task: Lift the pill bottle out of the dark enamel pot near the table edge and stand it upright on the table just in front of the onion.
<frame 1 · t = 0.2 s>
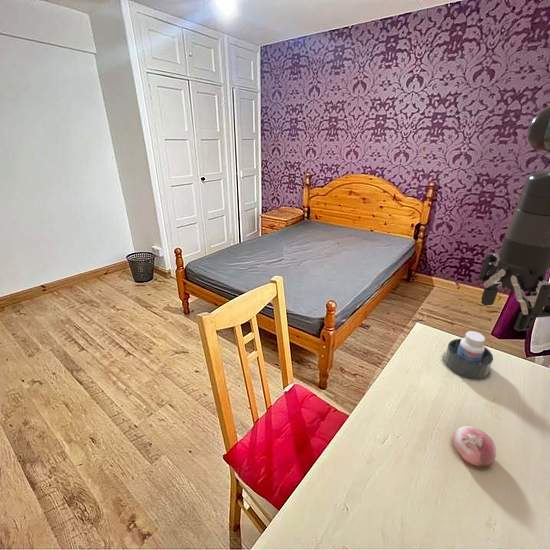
hand: (502, 316, 59), 32 cm above the table, tool pointing down, fingers open, 8 cm apart
pill bottle: (464, 366, 91), resting on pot
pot: (464, 366, 91), on the table
onion: (469, 454, 68), on the table
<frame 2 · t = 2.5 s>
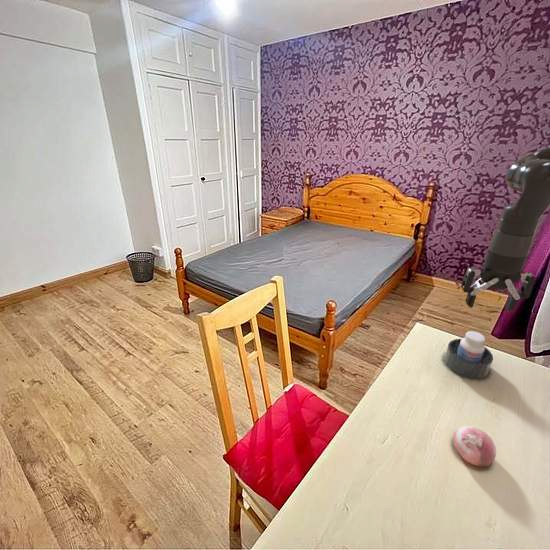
hand: (488, 307, 78), 23 cm above the table, tool pointing down, fingers open, 8 cm apart
nothing on the table moved.
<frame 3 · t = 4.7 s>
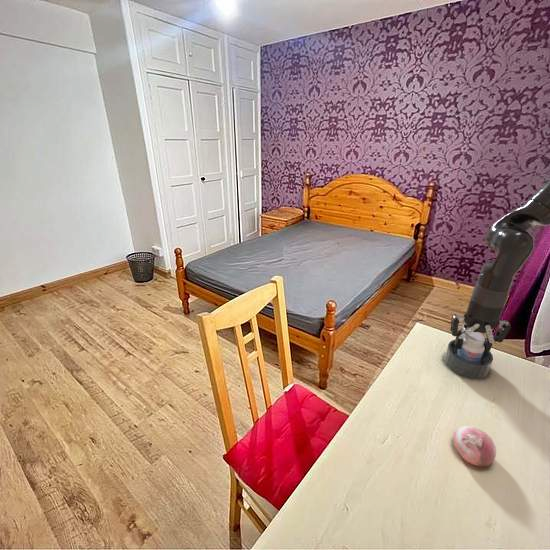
hand: (470, 348, 88), 7 cm above the table, tool pointing down, fingers closed on pill bottle, 6 cm apart
pill bottle: (464, 366, 91), resting on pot, touching gripper
everything else where it was.
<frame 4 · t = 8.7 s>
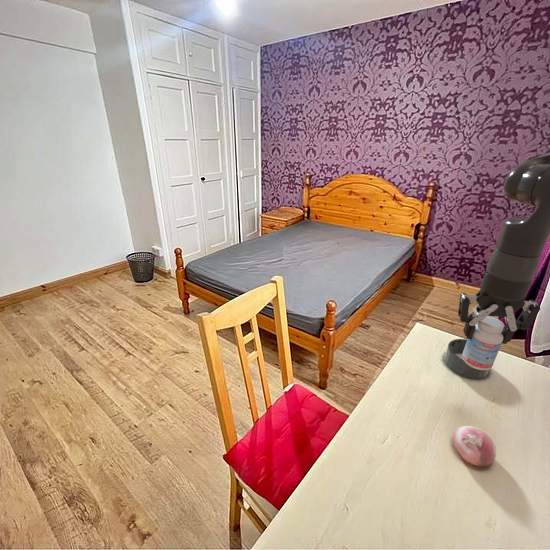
hand: (484, 338, 67), 23 cm above the table, tool pointing down, fingers closed on pill bottle, 6 cm apart
pill bottle: (476, 362, 70), point 16 cm above the table, touching gripper
everything else where it was.
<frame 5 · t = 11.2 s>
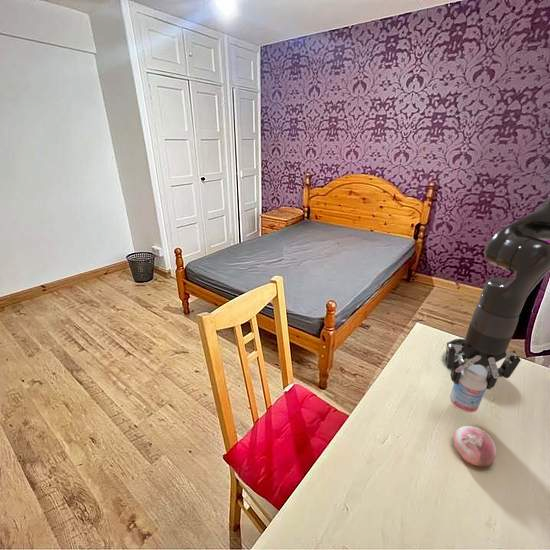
hand: (470, 383, 72), 11 cm above the table, tool pointing down, fingers closed on pill bottle, 6 cm apart
pill bottle: (463, 403, 75), point 4 cm above the table, touching gripper
everything else where it was.
when the fingers open (7 cm above the table, at t = 12.8 s): pill bottle stays where it is, on the table.
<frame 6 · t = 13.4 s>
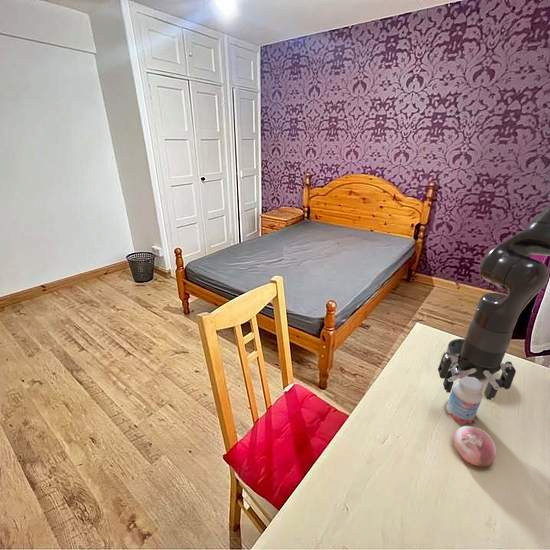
hand: (466, 393, 73), 8 cm above the table, tool pointing down, fingers open, 8 cm apart
pill bottle: (458, 415, 77), on the table
everything else where it was.
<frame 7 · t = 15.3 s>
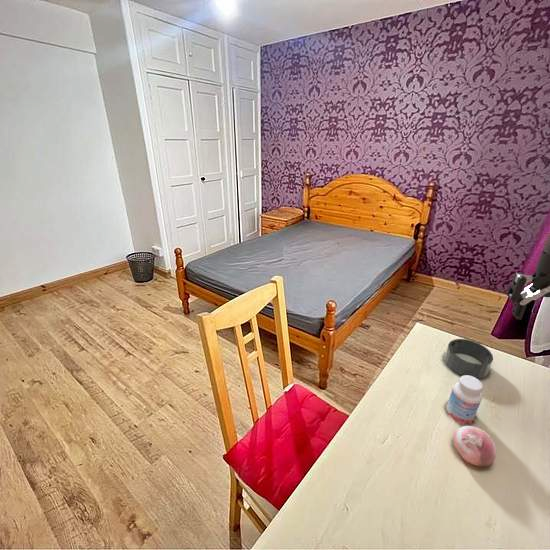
hand: (539, 319, 66), 27 cm above the table, tool pointing down, fingers open, 8 cm apart
nothing on the table moved.
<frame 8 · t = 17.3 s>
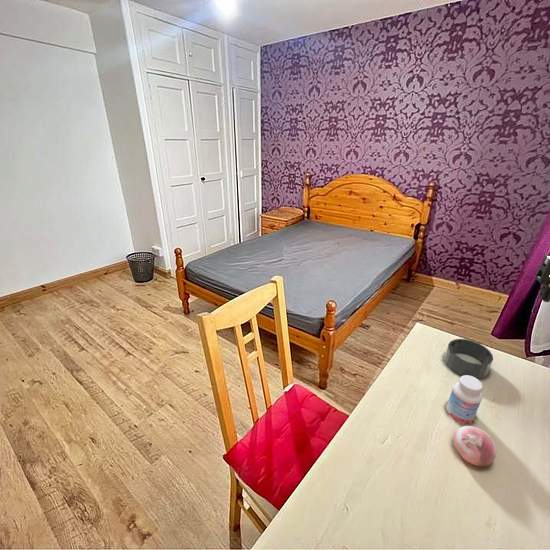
nothing on the table moved.
at the end: pill bottle inside the target area on the table beside the onion (0.1 cm from its centre), on the table; pill bottle tilted 0°; the gripper is holding nothing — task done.
